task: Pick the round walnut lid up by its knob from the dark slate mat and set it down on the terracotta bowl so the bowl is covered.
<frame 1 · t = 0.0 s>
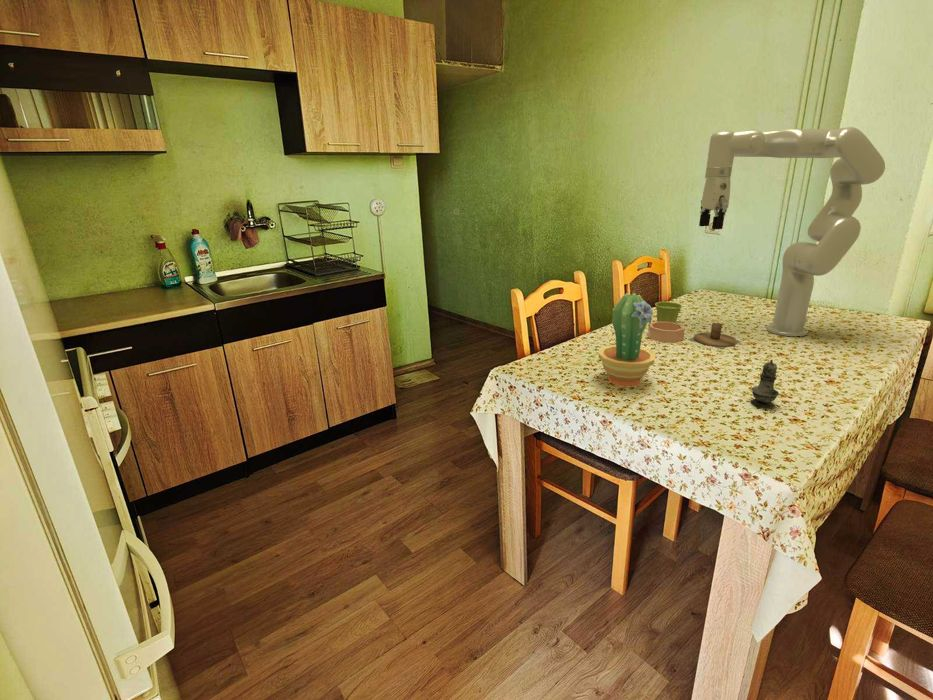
hand: (710, 227, 162), 37 cm above the table, tool pointing down, fingers open, 9 cm apart
potted cactus: (624, 380, 137), on the table
lid: (714, 340, 164), point 1 cm above the table, touching mat
mat: (714, 343, 164), on the table
plant pot: (665, 327, 182), on the table
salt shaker: (762, 404, 121), on the table
bowl: (664, 339, 169), on the table
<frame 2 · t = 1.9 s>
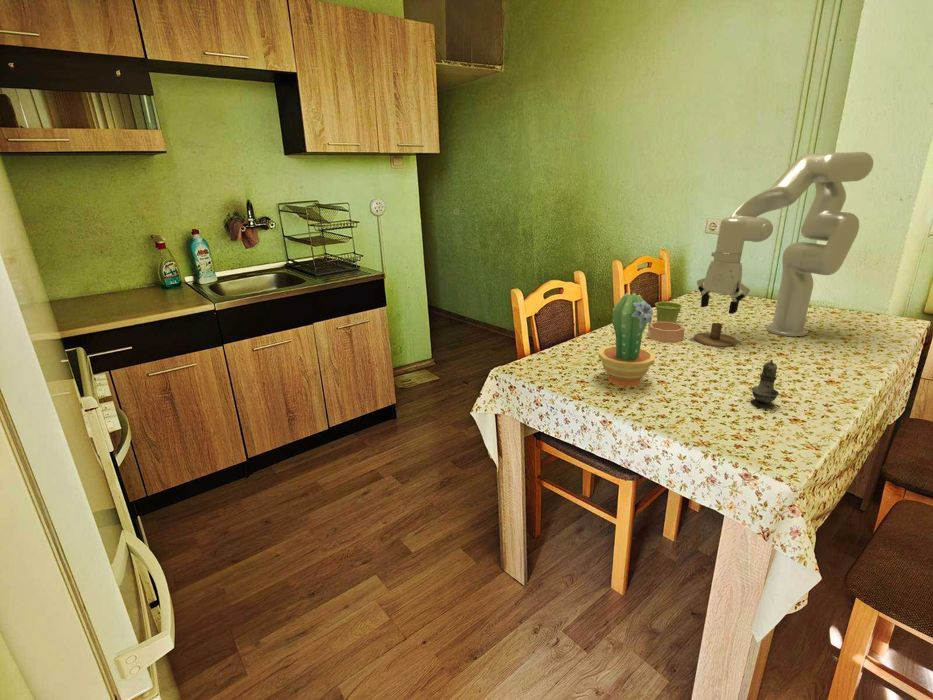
hand: (717, 309, 160), 12 cm above the table, tool pointing down, fingers open, 9 cm apart
nothing on the table moved.
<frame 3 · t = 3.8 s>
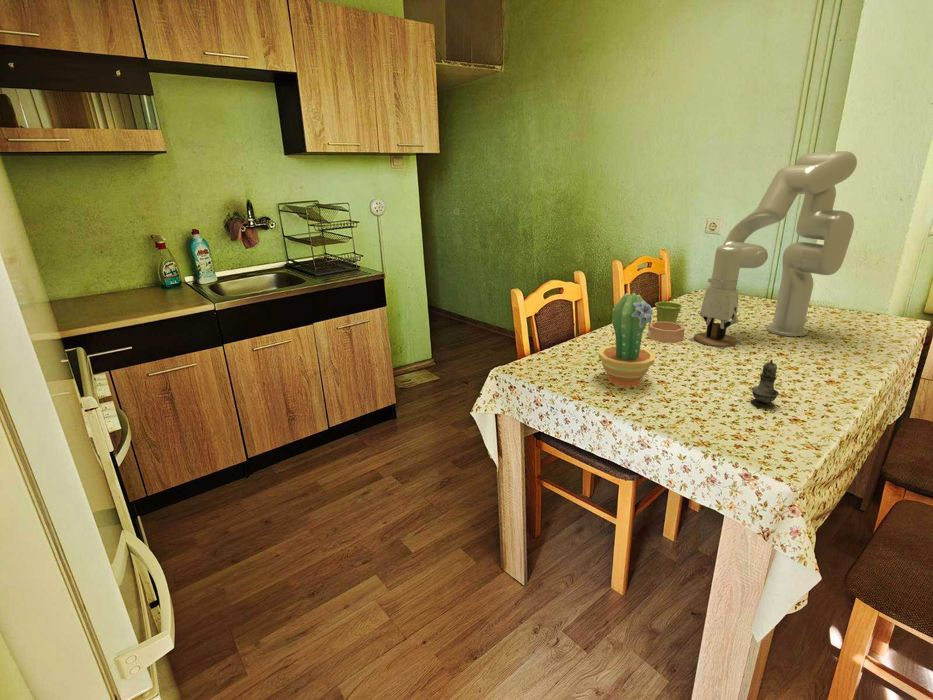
hand: (715, 337, 163), 2 cm above the table, tool pointing down, fingers closed on lid, 3 cm apart
lid: (714, 340, 164), point 1 cm above the table, touching gripper, mat
everything else where it was.
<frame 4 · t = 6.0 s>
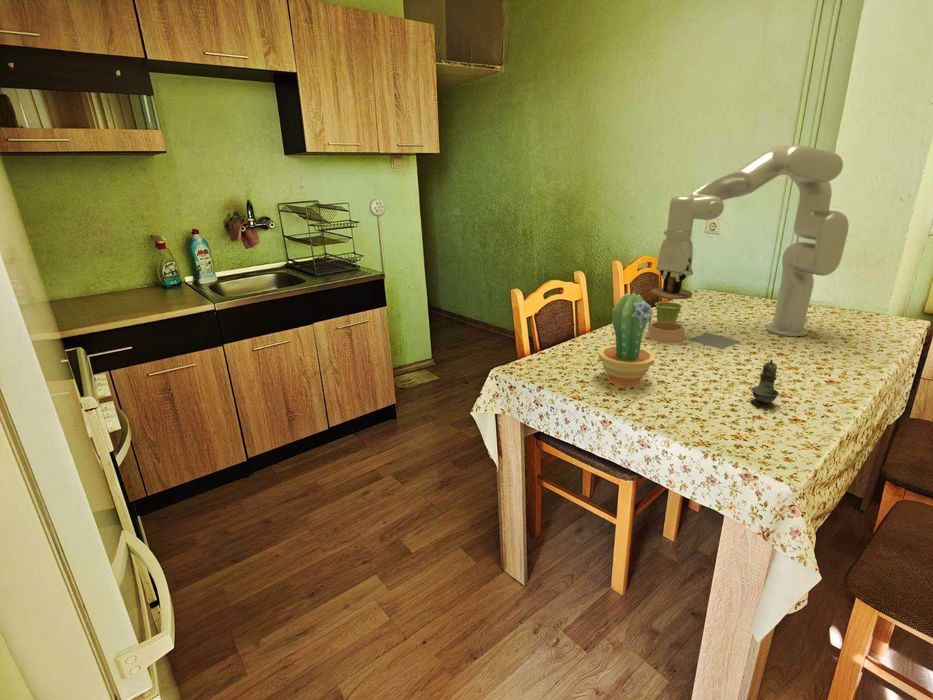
hand: (671, 291, 163), 17 cm above the table, tool pointing down, fingers closed on lid, 3 cm apart
lid: (670, 294, 163), point 16 cm above the table, touching gripper
everything else where it was.
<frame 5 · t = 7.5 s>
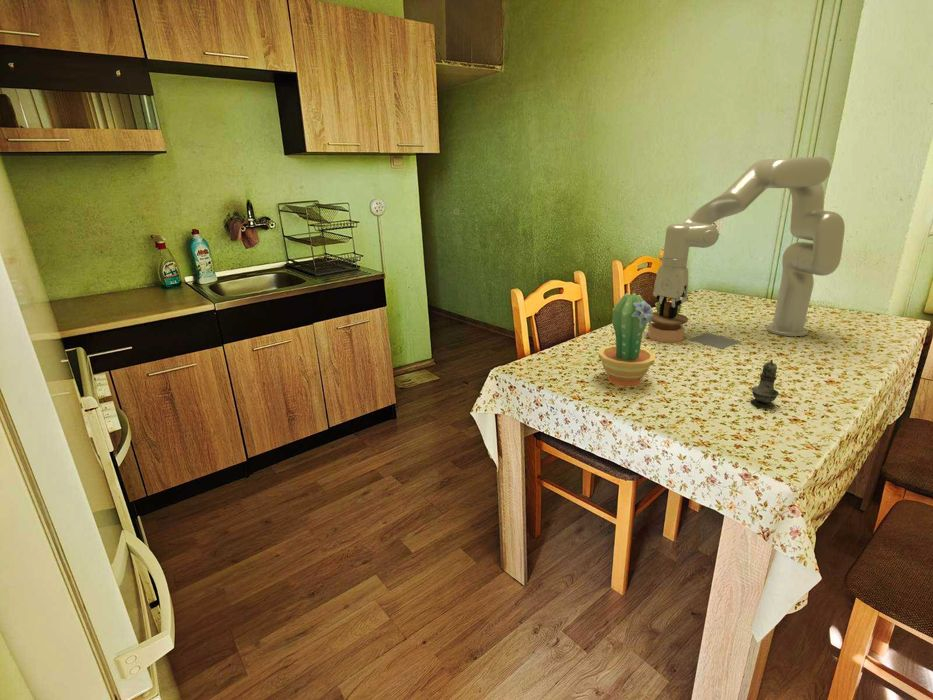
hand: (667, 316, 166), 9 cm above the table, tool pointing down, fingers closed on lid, 3 cm apart
lid: (667, 319, 166), point 7 cm above the table, touching gripper
everything else where it was.
when the fingers open (8 cm above the table, at t = 8.4 s): lid drops 1 cm, resting on bowl.
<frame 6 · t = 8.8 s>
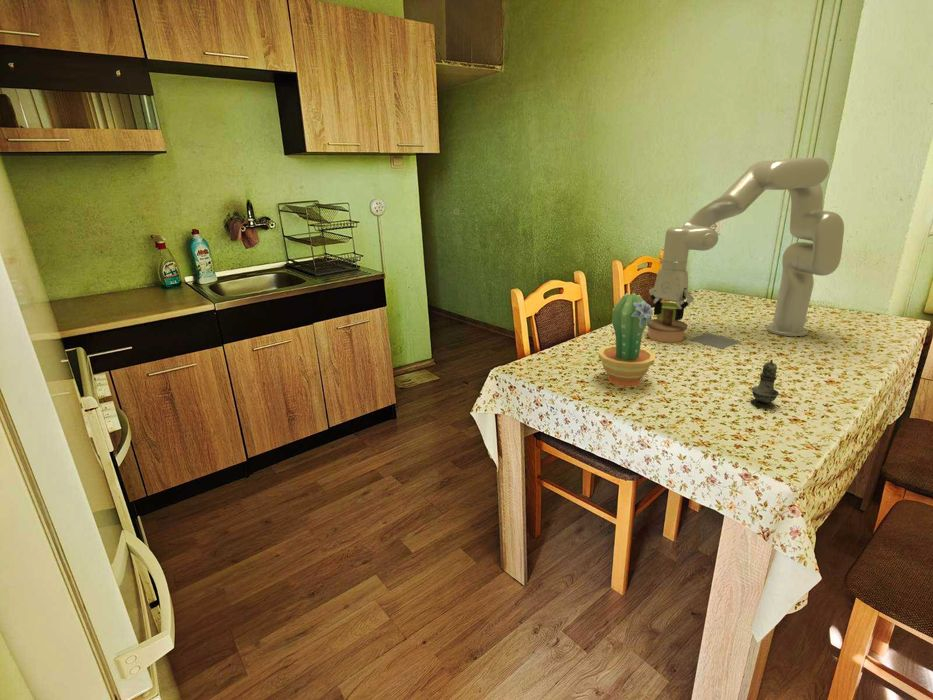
hand: (667, 316, 166), 8 cm above the table, tool pointing down, fingers open, 7 cm apart
lid: (666, 326, 167), point 5 cm above the table, touching bowl
bowl: (664, 339, 169), on the table, touching lid
everything else where it was.
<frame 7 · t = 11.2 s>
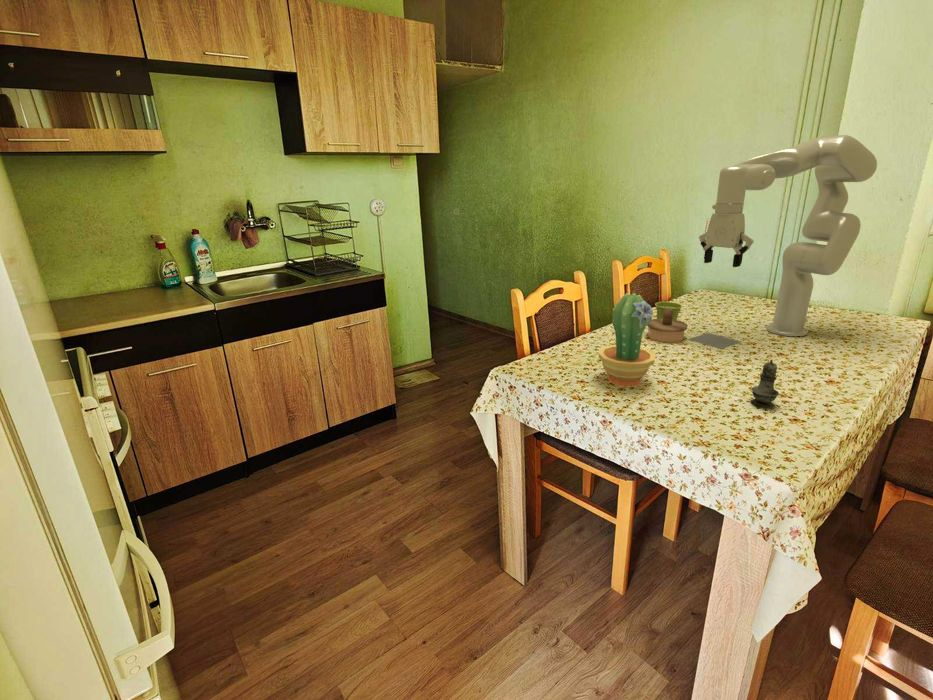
hand: (721, 264, 154), 27 cm above the table, tool pointing down, fingers open, 9 cm apart
nothing on the table moved.
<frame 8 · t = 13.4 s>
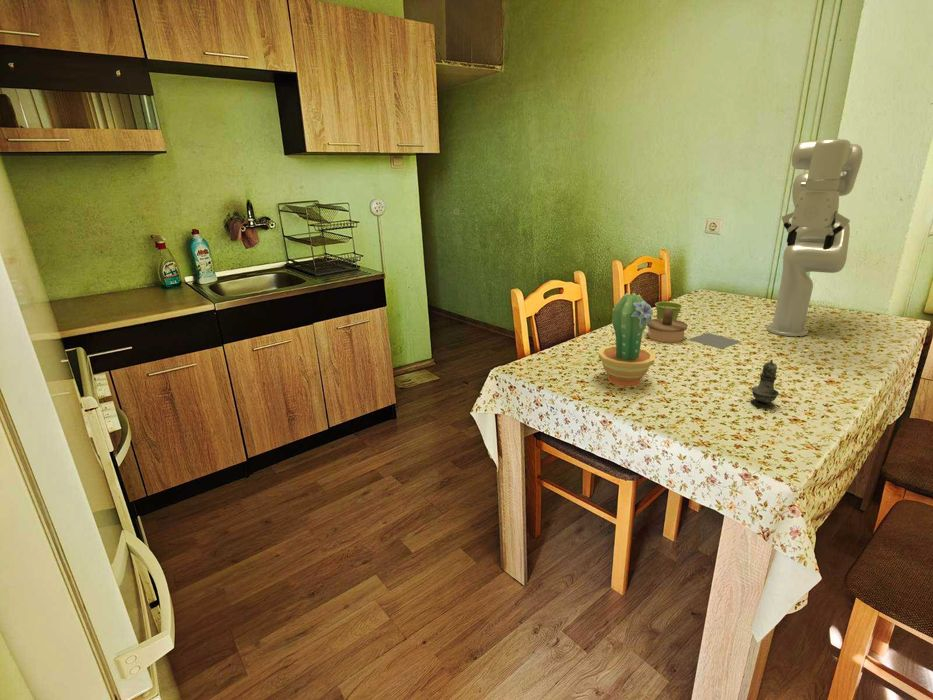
hand: (808, 247, 144), 33 cm above the table, tool pointing down, fingers open, 9 cm apart
nothing on the table moved.
at the end: lid 0.0 cm off-centre on the bowl, point 5.0 cm above the bowl's base; lid tilted 0°; the gripper is holding nothing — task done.
